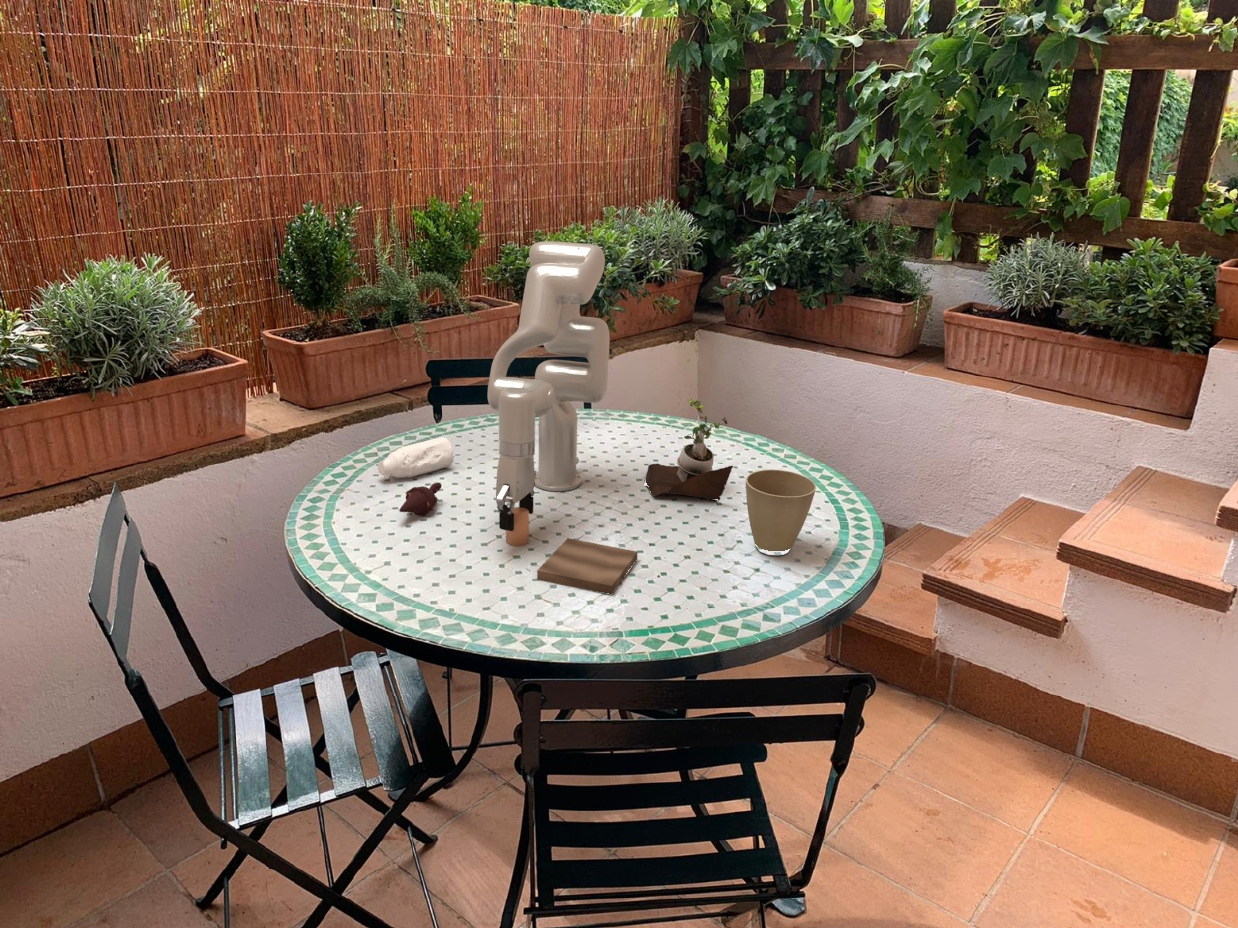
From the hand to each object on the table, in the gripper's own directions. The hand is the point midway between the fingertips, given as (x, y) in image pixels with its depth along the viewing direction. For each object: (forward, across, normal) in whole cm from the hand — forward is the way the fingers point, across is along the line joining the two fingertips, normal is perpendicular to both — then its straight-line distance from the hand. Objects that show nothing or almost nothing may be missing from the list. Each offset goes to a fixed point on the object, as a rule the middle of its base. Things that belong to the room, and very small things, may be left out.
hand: (516, 521), depth 200 cm
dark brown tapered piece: (+5, -4, -26) cm, 27 cm away
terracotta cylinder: (+5, -1, 0) cm, 5 cm away
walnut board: (+5, +5, +19) cm, 20 cm away
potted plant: (+5, -45, +26) cm, 52 cm away
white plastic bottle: (+5, -25, -39) cm, 46 cm away
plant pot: (+5, -20, +53) cm, 57 cm away
